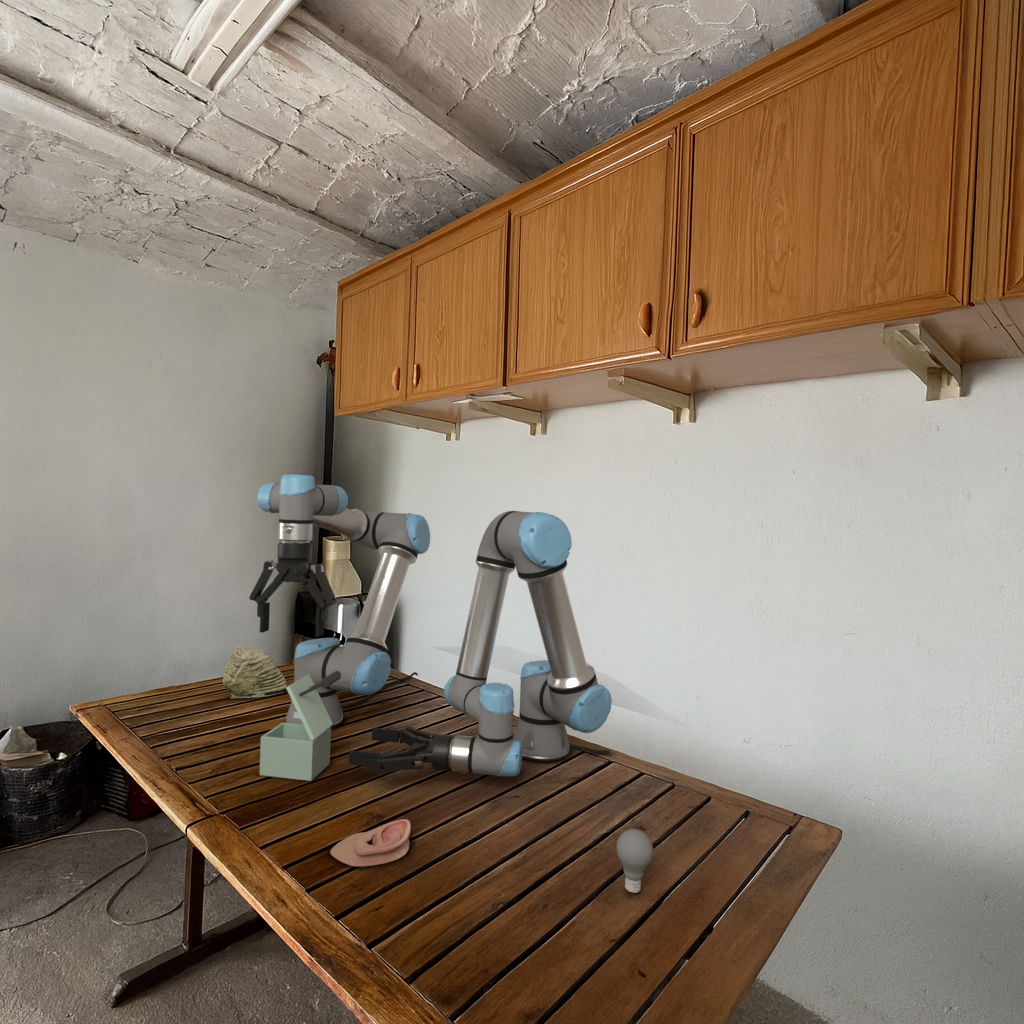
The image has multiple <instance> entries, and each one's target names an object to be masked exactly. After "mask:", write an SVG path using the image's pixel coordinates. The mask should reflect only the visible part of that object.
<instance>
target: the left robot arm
mask: <svg viewBox="0 0 1024 1024" xmlns="http://www.w3.org/2000/svg"><path fill="white" fill-rule="evenodd" d="M256 503H257V505H258V507H259V509H261V510H262V511H263V512H266V513H271V514H278V529H277V530H278V531H277V539H278V540H279V542H278V543H277V554H276V556H277V561H274V560H267V561H264V563H263V566H262V572H261V573H260V575H259V578H258V579H257V581H256V583H255V585H254V587H253V588H252V591H251V593H250V594H249V597H248V598H249V600H250V601H253V602H255V603H256V604H257V607H256V616H257V618H259V633H261V634H262V633H265V632H268V631H270V610H271V608H270V607H271V602H268V601H269V599H270V598H271V596H273V594H274V593H275V592H276V591H277V590H278V589H279V588H280V587H281V585H282V584H283V583H284V582H285V583H291V582H292V583H294V584H295V583H296V584H299V583H301V585H303V586H305V588H306V590H307V591H308V592H309V593H310V595H311V597H312V598H313V599H314V600H315V602H316V603H317V604H318V606H319V607H316V613H315V634H314V635H315V638H313V639H307V640H304V641H302V642H299V643H298V644H297V645H296V647H295V652H294V653H295V654H294V657H293V660H294V661H293V662H294V668H293V669H294V670H293V683H294V682H296V681H298V680H300V679H301V678H303V677H305V676H307V675H310V677H311V679H312V681H313V683H314V685H315V684H317V683H319V682H321V681H322V679H323V678H325V677H327V676H328V675H330V674H331V673H333V672H335V671H339V672H340V673H341V678H340V679H339V680H337V681H336V682H334V683H333V684H331V685H330V686H328V687H323V686H321V687H319V688H317V689H316V690H317V692H318V694H319V696H320V698H321V700H322V702H323V704H324V706H325V708H326V711H327V713H328V715H329V717H330V719H331V721H332V723H333V725H331V726H330V727H331V730H332V729H335V728H337V727H339V726H340V725H342V723H343V722H344V714H343V709H345V708H349V707H353V706H356V705H358V704H360V703H363V702H364V701H367V700H368V699H369V698H370V697H372V696H374V695H375V694H376V693H378V692H379V691H381V690H382V689H385V688H386V687H389V686H391V685H394V684H396V683H399V682H403V681H405V680H409V679H411V678H412V677H413V676H419V674H418V672H416V671H414V672H412V673H411V674H409V675H408V676H405V677H402V678H399V679H395V680H393V681H390V682H388V679H389V677H390V673H391V669H392V666H391V664H392V659H391V656H390V655H389V654H388V651H389V649H388V646H387V645H386V640H387V636H388V633H389V630H390V627H391V624H392V621H393V617H394V614H395V611H396V607H397V605H398V602H399V599H400V596H401V592H402V589H403V586H404V584H405V580H406V577H407V574H408V570H409V568H410V566H411V565H414V564H415V563H416V562H417V560H418V556H419V555H423V554H425V553H426V552H427V551H428V550H429V548H430V545H431V544H430V543H431V530H430V526H429V523H428V521H427V519H426V518H425V517H424V516H423V515H421V514H416V513H411V512H408V513H400V512H386V511H385V512H384V511H365V510H361V509H358V508H353V509H349V508H348V503H349V498H348V495H347V492H346V491H345V489H344V488H342V487H341V486H338V485H334V484H316V483H315V477H314V476H313V475H307V474H292V473H289V474H283V475H282V476H281V477H280V482H267V483H264V484H263V485H262V486H260V488H259V489H258V491H257V496H256ZM313 525H314V526H316V527H320V528H321V529H322V528H323V529H325V530H327V531H328V530H329V531H331V532H334V533H337V534H339V535H340V536H341V537H342V538H343V539H345V540H346V541H349V542H352V543H355V544H357V545H361V546H363V547H365V548H368V549H371V550H377V552H378V554H379V555H380V559H379V562H378V564H377V567H376V570H375V573H374V576H373V579H372V582H371V584H370V587H369V589H368V594H367V596H366V600H365V602H364V605H363V608H362V611H361V613H360V616H359V620H358V622H357V625H356V628H355V631H354V633H353V634H351V635H349V636H347V638H346V640H345V643H344V646H342V645H340V644H341V642H340V640H339V638H337V637H321V636H324V635H325V622H327V621H328V620H329V607H332V606H334V605H337V603H338V600H337V598H336V596H335V593H334V591H333V588H332V586H331V583H330V581H329V579H328V577H327V574H326V568H325V567H326V566H325V564H324V563H318V564H312V557H313V544H312V542H311V541H312V540H314V539H313V533H314V532H313V531H314V529H313V528H314V526H313ZM275 570H276V571H277V572H278V573H277V575H276V576H275V577H274V578H273V580H272V581H271V583H270V584H269V585H268V586H267V584H268V582H269V580H270V578H271V576H272V575H273V573H274V571H275ZM311 572H313V574H314V575H315V577H316V580H317V583H318V585H319V586H317V584H316V583H315V581H314V578H313V576H312V575H311ZM266 586H267V587H266ZM319 587H320V588H319ZM319 637H321V638H319ZM387 682H388V683H387ZM338 691H340V692H346V693H351V694H354V695H357V696H359V695H363V696H364V695H366V696H365V697H363V698H362V699H359V700H357V701H355V702H352V703H348V704H344V705H341V702H340V699H339V695H338ZM285 723H292V724H302V725H303V723H302V720H301V718H300V716H299V714H298V712H297V710H296V708H295V706H294V704H293V701H292V700H291V702H290V704H289V708H288V711H287V713H286V715H285Z"/></svg>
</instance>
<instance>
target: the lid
mask: <svg viewBox="0 0 1024 1024" xmlns="http://www.w3.org/2000/svg"><path fill="white" fill-rule="evenodd" d="M340 678H341V673H340V672H339V671H335V672H333V673H331V674H330V675H328V676H327V677H325V678H323V679H322V681H321V682H319V683H317V684H315V685H314V683H313V681H312V679H311V677H310V675H307V676H305V677H303V678H301V679H300V680H298V681H296V682H294V681H293V683H291V684H289V685H288V686H287V687H286V691H287V693H288V695H289V697H290V699H291V702H292V701H293V704H294V706H295V708H296V710H297V712H298V714H299V716H300V718H301V720H302V723H303V725H304V727H305V729H306V731H307V733H308V735H309V737H310V740H311V741H312V740H314V739H315V738H316V737H318V736H319V735H320V734H321V733H323V732H324V731H325V730H326V729H328V728H329V727H330V726H331V725H333V723H332V721H331V719H330V717H329V715H328V713H327V711H326V708H325V706H324V704H323V702H322V700H321V698H320V696H319V694H318V692H317V690H316V689H317V688H319V687H321V686H323V687H328V686H330V685H331V684H333V683H334V682H336V681H337V680H339V679H340Z"/></svg>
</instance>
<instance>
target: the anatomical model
mask: <svg viewBox="0 0 1024 1024" xmlns="http://www.w3.org/2000/svg"><path fill="white" fill-rule="evenodd" d="M411 825H412V824H411V822H410V820H409V819H406V818H404V819H403V818H402V819H396V820H394V821H391V822H387V823H385V824H382V825H380V826H377V827H375V828H373V829H370V830H367V831H363V832H358V833H354V834H352V835H349V836H348V837H345V838H344V839H342V840H341V841H339V842H338V843H336V844H335V845H334V846H332V848H331V849H330V850H329V851H330V852H329V854H330V855H331V856H332V857H333V858H334V859H335V860H337V861H339V862H341V863H342V864H344V865H345V864H346V865H347V866H351V867H368V866H369V867H370V866H377V865H383V864H387V863H391V862H394V861H397V860H399V859H400V858H402V857H404V856H405V855H406V854H407V853H408V852H409V849H410V839H409V837H410V834H411V830H412V829H411V828H412V826H411Z"/></svg>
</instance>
